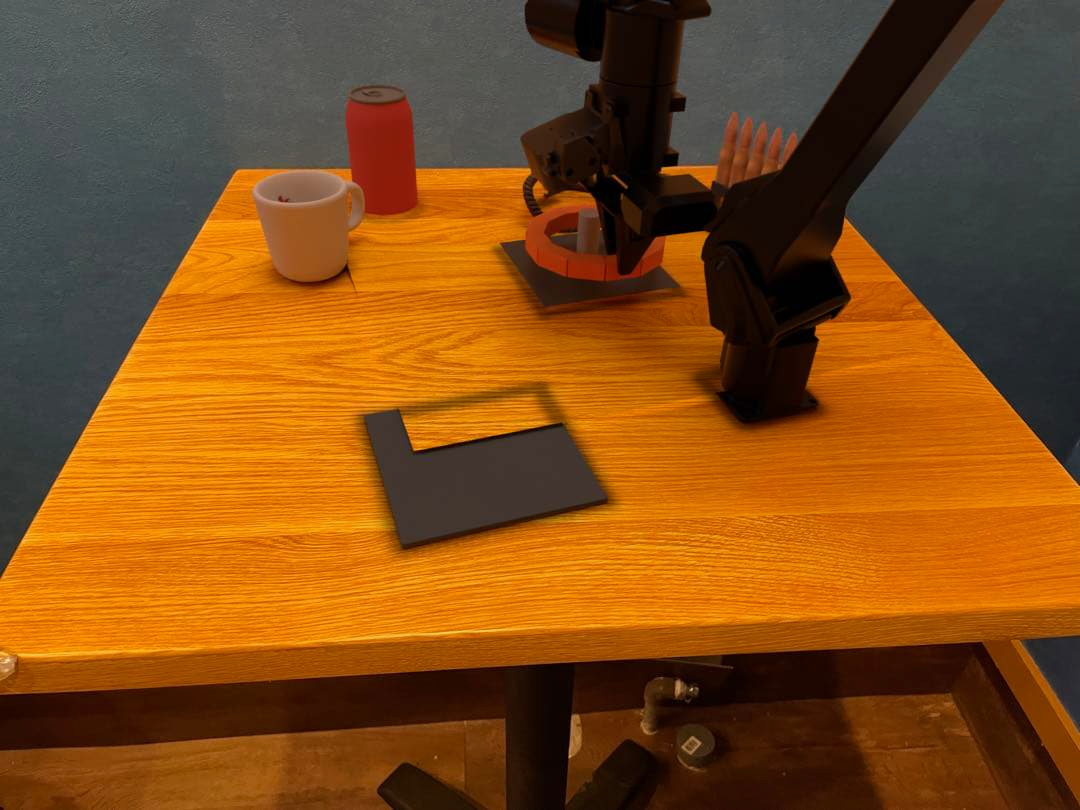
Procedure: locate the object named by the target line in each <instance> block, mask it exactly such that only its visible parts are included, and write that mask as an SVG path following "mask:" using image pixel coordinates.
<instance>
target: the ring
mask: <svg viewBox="0 0 1080 810" xmlns="http://www.w3.org/2000/svg"><path fill="white" fill-rule="evenodd" d="M583 209H596V210H597V206H596V204H592V203H591V204H590V203H588V204H587V203H584V204H583V203H582V204H575V205H568V206H567V205H566V206H557V207H553V208H552V209H549V210H546V211H544V212H543V213H542V214H540V215H538V216H536V217H533V218H531V220H530V222H529V224H528V226H527V229H526V231H525V238H524V240H525V248H526V250H527V252H528V253H529V254H530V256H531V257H532V258H533V260H534V261H535V262H536V264H538V265H539V266H541V267H543V268H546V269H548V270H551V271H553V272H555V273H558V274H560V275H562V276H565V277H566V276H568V277H571V278H579V279H588V280H597V281H604V279H605V281H611V280H618V279H625V278H632V277H639V275H640V276H642V275H644V274H645V273H647V272H649V271H650V270H652V269H654V268H656V267H657V266H659V265H660V266H661V265H662V264H663V260H664V254H665V247H666V238H667V236H662V237H656V238H655V239H654V241H653V242H652V243H651V245H650V246H649V248H648V249H647V251H646V252H645V254H644V255H643V257H642V258H641V260H640V261H639V263H638V264H637V266H636V267H635V269H634V270H633V272H632V273H631V274H629V275H622V276H621V275H619V273H618V270H617V259H616V254H614V255H606V256H600V255H591V254H582V253H575V252H572V251H570V250H567V249H565V248H562V247H560V246H557V245H555V244H553V243H552V242H551V241H550V240H549V238H548V237H550V236H555V235H556V234H559V233H558V232H560V231H562V230H564V229H573V228H578V219H579V211H580V210H583ZM600 229H602V228H601V223H600Z"/></svg>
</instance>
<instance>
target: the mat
mask: <svg viewBox="0 0 1080 810" xmlns="http://www.w3.org/2000/svg"><path fill="white" fill-rule="evenodd" d="M363 419H364V424H365V427H366V430H367V433H368V437H369V440H370V444H371V447H372V450H373V454H374V457H375V460H376V464H377V467H378V470H379V472H380V477H381V480H382V483H383V487H384V492H385V495H386V497H387V501H388V504H389V508H390V511H391V515H392V518H393V521H394V525H395V527H396V528H395V529H396V531H397V534H398V537H399V542H400V544H401V547H402V549H403V550H404V549H408V548H412V547H418V546H421V545H426V544H430V543H431V544H432V543H436V542H439V541H443V540H448V539H453V538H456V537H461V536H466V535H471V534H474V533H480V532H482V531H488V530H493V529H498V528H499V527H501V528H502V527H505V526H510V525H514V524H518V523H523V522H526V521H532V520H535V519H536V520H537V519H540V518H544V517H545V518H546V517H549V516H552V515H553V516H554V515H558V514H562V513H566V512H571V511H575V510H576V511H577V510H579V509H583V508H589V507H592V506H598V505H601V504H606V503H608V500H609V498H608V496H607V494H606V492H605V491H604V489H603V487H602V486H601V484H600V482H599V481H598V479H597V477H596V475H595V473H594V472H593V471H592V469H591V468H590V466H589V464H588V462H587V460H586V459H585V458H584V456H583V454H582V453H581V451H580V449H579V447H578V446H577V445H576V443H575V441H574V440H573V437H572V436H571V435H570V433H569V431H568V430H567V428H566V426H565V424H564V423H563V422H556V423H551V424H546V425H542V426H541V425H540V426H537V427H536V426H535V427H532V428H531V427H530V428H526V429H521V430H516V431H511V432H505V433H500V434H495V435H490V436H489V435H488V436H485V437H484V436H483V437H479V438H475V439H474V438H473V439H470V440H463V441H459V442H454V443H448V444H444V445H438V446H433V447H428V448H423V449H422V448H421V449H417V450H414V447H413V445H412V441H411V439H410V436H409V433H408V430H407V428H406V425H405V422H404V420H403V416H402V414H401V411H400V408H395V409H389V410H384V411H379V412H372V413H366V414H364V415H363Z"/></svg>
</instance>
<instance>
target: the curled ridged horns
mask: <svg viewBox="0 0 1080 810" xmlns="http://www.w3.org/2000/svg"><path fill="white" fill-rule="evenodd" d="M537 182H539V181H538V180H537V179H536V178H534V177H533V176H532V173H531V172H530V174H529V175H528V176H527V178H525V180H524V181H523V183H522V198H523V199H524V203H525V206H526V208H527V209H528V211H529V214H531V216H532V217H533V218H534V217H536V216H538V215H540V214H542V213H544V212H543V211H542V209H541V207H540V206H539V203H538V202H537V200H536V198H535V194H534V186H535V185H536V183H537ZM570 189H571V190H574V191H579V192H583V193H588V194H590V193H589V192H588V191H587V190H586V189H585V188H584V187H583V186H582V185H581V184H580V183H579V182H578V183H575V184H573V185H570V184H568V185H567V187H566V188H564V189H561V190H559V191H555V192H549V191H547V193H546V192H544V193H543V195H542V196H543V198H544V199H548V198H550V197H552V196H555V195H557V194H559V193H563V191H567V190H570ZM574 233H578V228H573V229H564V230H562V231H560V232H558V233H557V234H574Z"/></svg>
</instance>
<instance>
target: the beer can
mask: <svg viewBox="0 0 1080 810" xmlns="http://www.w3.org/2000/svg"><path fill="white" fill-rule="evenodd" d="M347 97H348V99H347V100H348V101H347V103H346V108H345V118H344V119H345V129H346V137H347V146H348V147H347V148H348V155H349V164H350V165H349V167H350V174H351V175H350V176H351V182H353V183H356V184H357V185H359V186H360V188H361V189H362V191H363V194H364V199H365V211H364V214H369V215H376V216H394V215H399V214H404V213H407V212H410V211H411V210H413V209H415V208H416V207H417V206H418V203H419V200H418V199H419V198H418V183H417V165H416V149H415V135H414V134H415V133H414V117H413V111H412V108H411V105H410V103H409V101H408V99H407V92H406V91H405V90H404V88H402V87H400V86H396V85H392V84H366V85H359V86H356V87H354V88H352V89H350V90H349V91H348V93H347Z"/></svg>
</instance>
